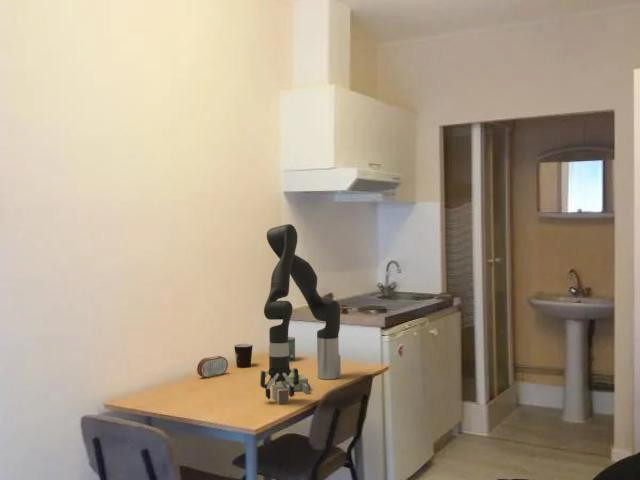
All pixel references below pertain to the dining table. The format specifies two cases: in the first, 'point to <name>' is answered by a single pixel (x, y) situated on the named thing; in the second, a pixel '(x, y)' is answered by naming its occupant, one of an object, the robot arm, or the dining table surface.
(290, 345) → the canned tomato
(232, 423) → the dining table surface
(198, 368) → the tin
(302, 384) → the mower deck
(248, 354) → the coffee mug
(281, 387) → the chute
